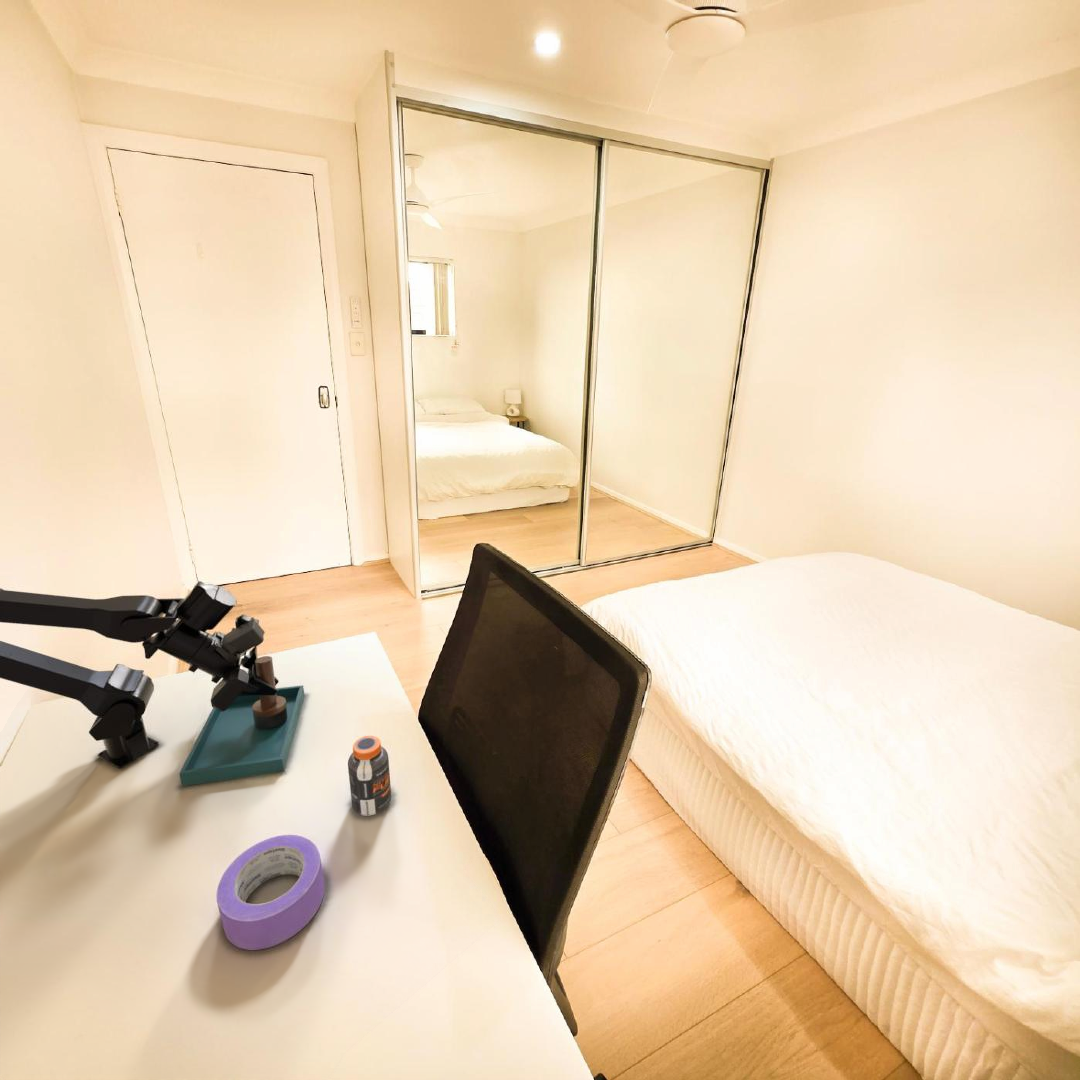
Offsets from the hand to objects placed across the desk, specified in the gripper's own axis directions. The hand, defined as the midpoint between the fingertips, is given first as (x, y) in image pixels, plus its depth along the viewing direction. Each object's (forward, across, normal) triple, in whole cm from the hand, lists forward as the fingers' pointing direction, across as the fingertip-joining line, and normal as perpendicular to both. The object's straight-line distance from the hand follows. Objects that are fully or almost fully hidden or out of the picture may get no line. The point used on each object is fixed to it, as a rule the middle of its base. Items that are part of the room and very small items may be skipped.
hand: (276, 688), depth 99 cm
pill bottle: (+15, -26, -4) cm, 31 cm away
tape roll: (+6, -38, +5) cm, 39 cm away
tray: (+1, -3, +9) cm, 9 cm away
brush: (+3, -1, +6) cm, 6 cm away
